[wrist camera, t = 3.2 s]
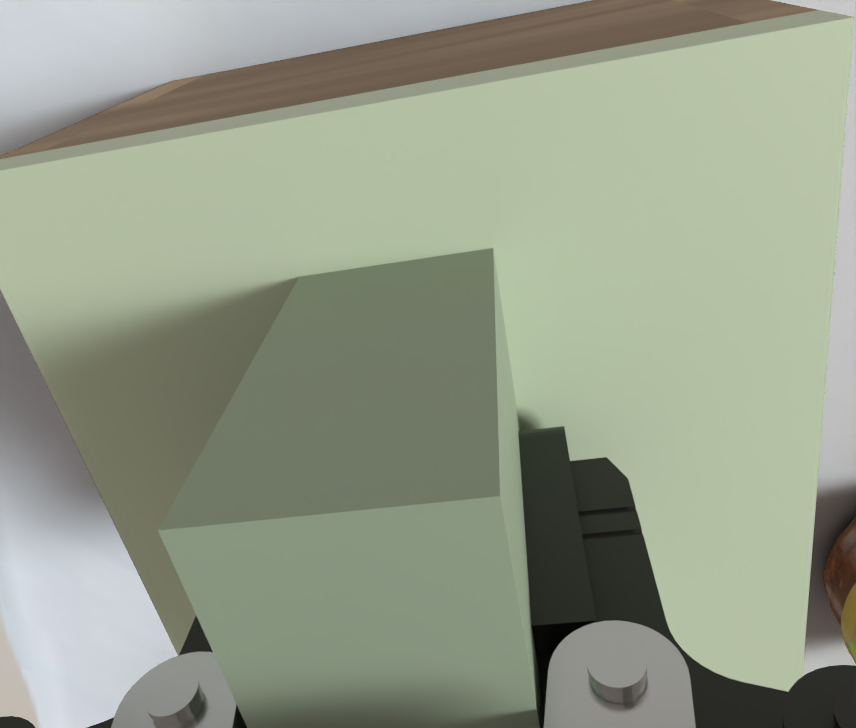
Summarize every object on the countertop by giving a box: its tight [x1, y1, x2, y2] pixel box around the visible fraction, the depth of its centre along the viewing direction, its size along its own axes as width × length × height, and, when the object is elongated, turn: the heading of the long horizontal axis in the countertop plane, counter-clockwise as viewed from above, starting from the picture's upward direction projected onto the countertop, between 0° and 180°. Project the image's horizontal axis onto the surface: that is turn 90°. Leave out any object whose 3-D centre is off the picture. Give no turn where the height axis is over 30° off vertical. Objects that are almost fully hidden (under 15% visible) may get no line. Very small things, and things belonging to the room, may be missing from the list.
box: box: [0, 0, 816, 159], centre depth 15 cm, size 11×11×7 cm
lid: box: [0, 10, 854, 728], centre depth 10 cm, size 11×11×7 cm
